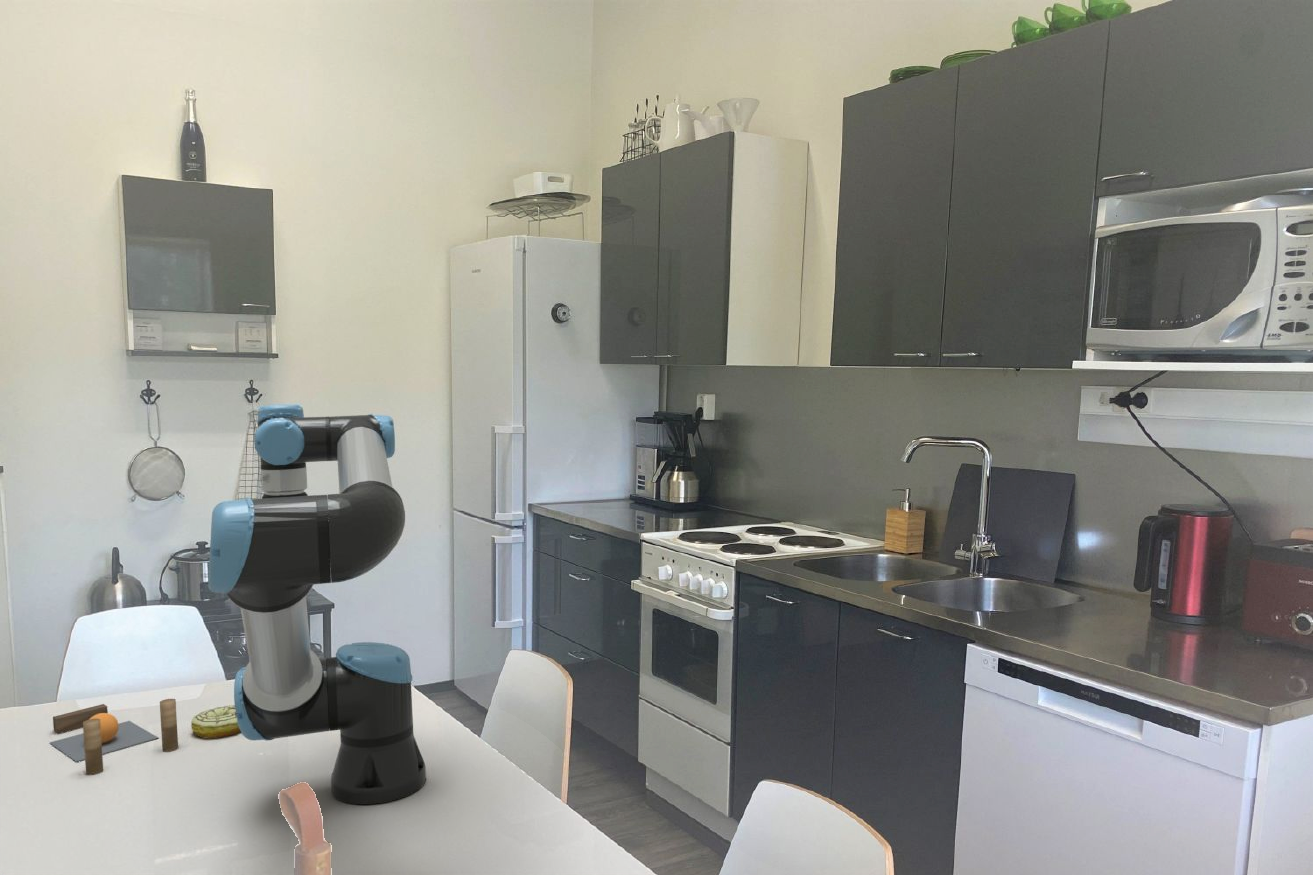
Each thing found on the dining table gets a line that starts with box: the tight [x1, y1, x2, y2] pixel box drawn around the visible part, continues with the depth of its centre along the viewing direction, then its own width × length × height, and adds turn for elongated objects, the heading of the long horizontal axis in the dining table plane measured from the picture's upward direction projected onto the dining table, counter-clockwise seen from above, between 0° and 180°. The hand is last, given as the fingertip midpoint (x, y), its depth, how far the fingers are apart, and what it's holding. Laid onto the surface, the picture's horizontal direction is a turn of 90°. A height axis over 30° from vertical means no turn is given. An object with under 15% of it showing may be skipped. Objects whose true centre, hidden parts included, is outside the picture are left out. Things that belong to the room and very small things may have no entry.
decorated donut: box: [190, 704, 241, 739], centre depth 184 cm, size 10×11×4 cm
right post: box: [159, 698, 179, 753], centre depth 175 cm, size 3×3×9 cm
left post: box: [82, 719, 104, 776], centre depth 165 cm, size 3×3×9 cm
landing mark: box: [49, 720, 159, 763], centre depth 180 cm, size 14×14×1 cm
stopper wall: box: [52, 703, 109, 735], centre depth 187 cm, size 2×9×3 cm, turn 139°
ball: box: [90, 712, 119, 744], centre depth 178 cm, size 6×6×6 cm
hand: (290, 623), depth 169 cm, fingers closed
